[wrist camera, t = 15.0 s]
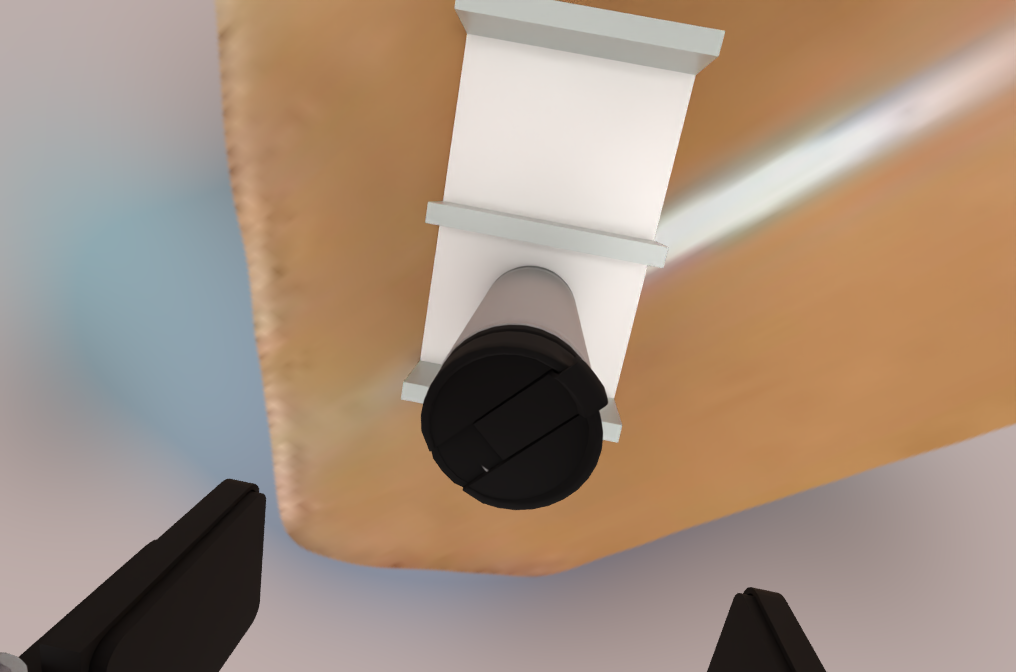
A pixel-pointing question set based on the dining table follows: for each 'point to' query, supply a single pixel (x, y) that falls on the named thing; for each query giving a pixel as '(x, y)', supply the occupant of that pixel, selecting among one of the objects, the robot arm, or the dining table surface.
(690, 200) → the dining table surface
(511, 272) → the travel mug
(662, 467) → the dining table surface
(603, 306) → the dish rack
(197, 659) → the robot arm
